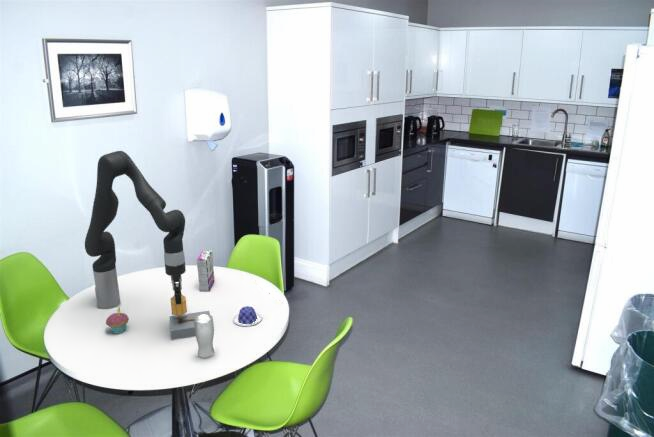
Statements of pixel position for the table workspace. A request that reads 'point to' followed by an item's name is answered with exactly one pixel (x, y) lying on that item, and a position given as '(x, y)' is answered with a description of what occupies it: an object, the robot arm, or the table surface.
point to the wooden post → (180, 319)
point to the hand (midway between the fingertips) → (178, 298)
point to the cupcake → (117, 321)
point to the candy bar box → (205, 270)
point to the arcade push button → (178, 306)
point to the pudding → (247, 316)
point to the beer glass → (204, 335)
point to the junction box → (184, 325)
